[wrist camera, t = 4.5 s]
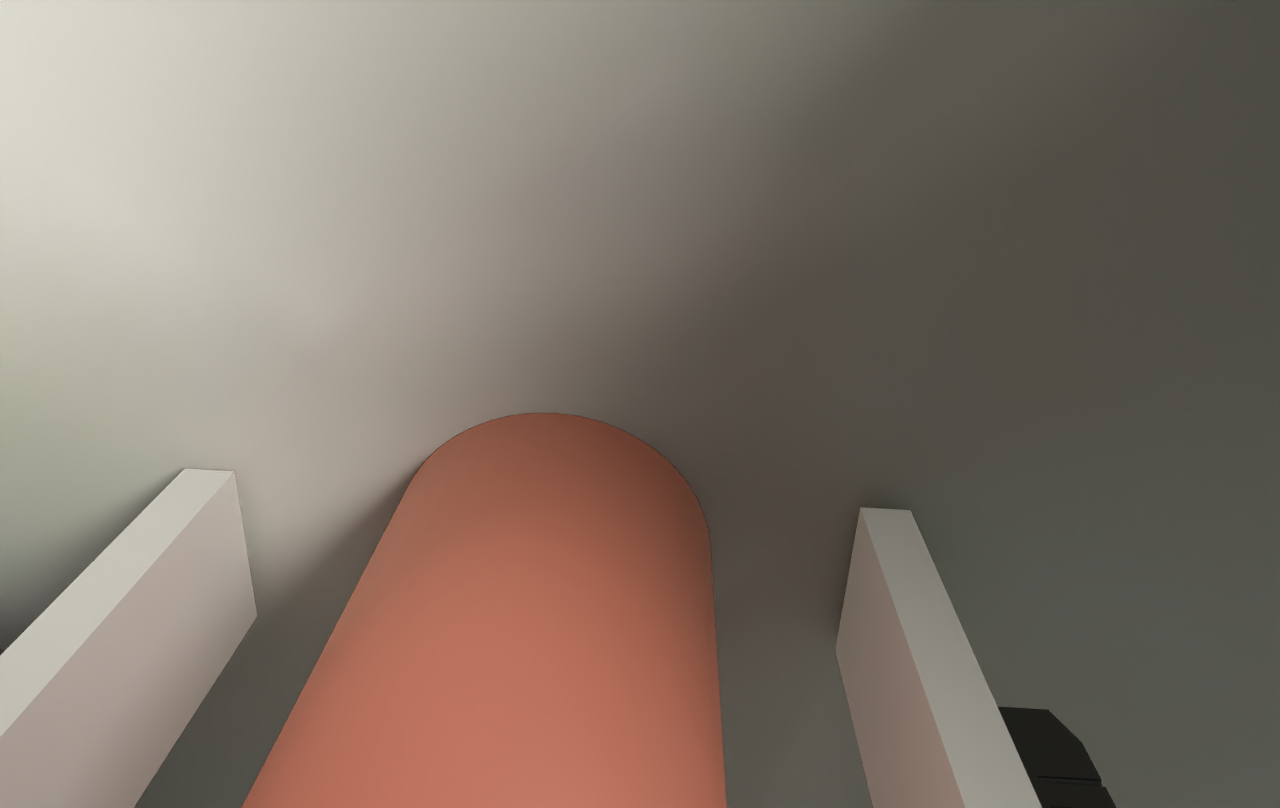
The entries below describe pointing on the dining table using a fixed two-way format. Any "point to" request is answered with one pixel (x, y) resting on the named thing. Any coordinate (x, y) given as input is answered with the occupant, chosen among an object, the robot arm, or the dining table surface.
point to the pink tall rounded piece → (520, 638)
